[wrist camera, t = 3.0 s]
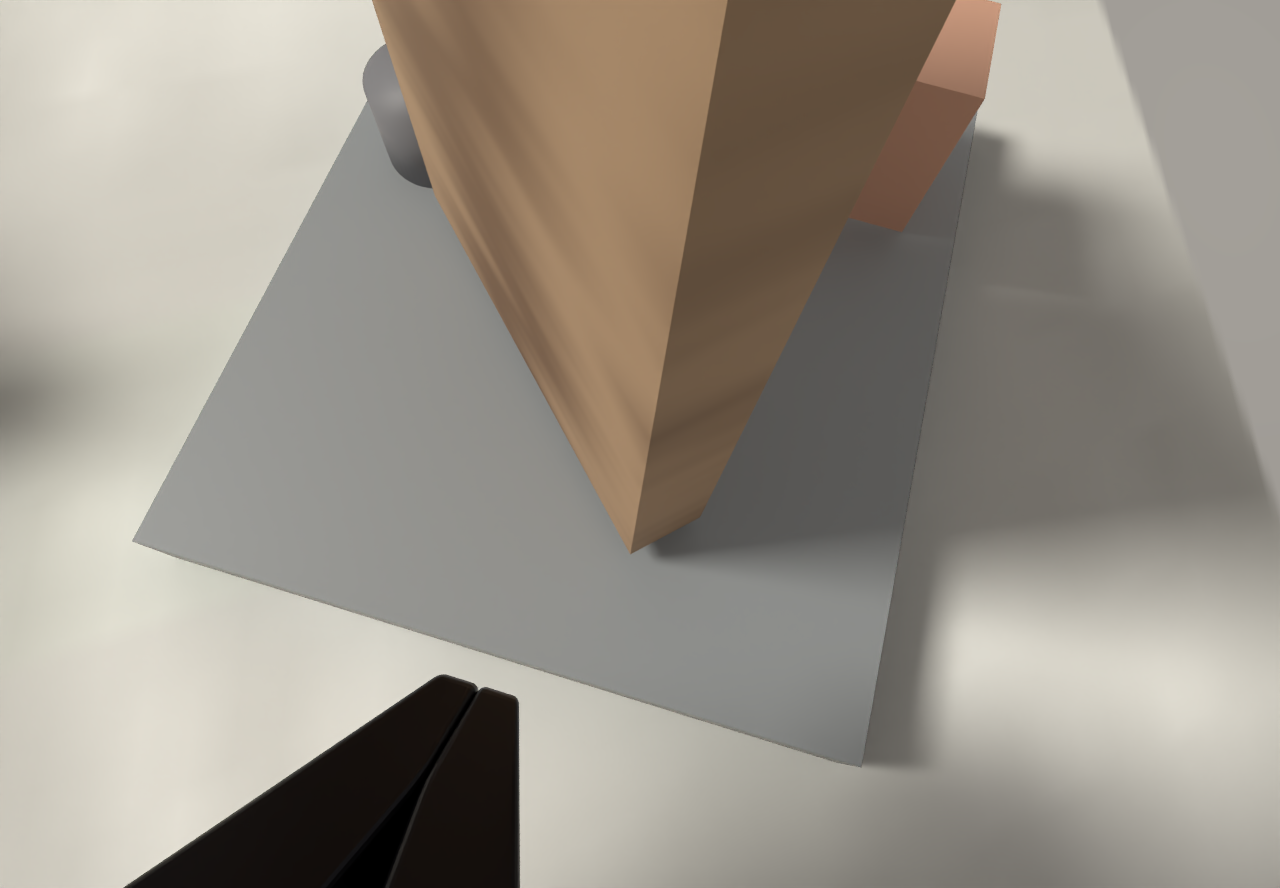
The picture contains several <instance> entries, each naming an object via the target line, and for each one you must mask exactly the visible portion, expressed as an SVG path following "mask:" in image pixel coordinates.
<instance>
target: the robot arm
mask: <svg viewBox="0 0 1280 888" xmlns="http://www.w3.org/2000/svg"><path fill="white" fill-rule="evenodd" d="M124 888H520V823H519V702H518V699H517V698H516V697H515V696H513V695H510V694H506V693H503V692H500V691H497V690H494V689H490V688H487V687H484V688H481V689H480V690H479V691H478V688H477V686H476V685H475V684H474V683H471V682H468V681H465V680H462V679H458V678H455V677H452V676H449V675H444V674H443V675H439V676H436V677H434V678H433V679H431V680H430V681H428V682H427V683H426V684H424V685H423V686H421V687H420V688H418V689H417V690H415V691H414V692H412V693H411V694H409V695H408V696H406V697H405V698H403V699H402V700H400V701H399V702H397V703H396V704H394V705H393V706H391V707H390V708H389V709H387V710H386V711H384V712H383V713H381V714H380V715H378V716H377V717H375V718H374V719H372V720H371V721H369V722H368V723H366V724H365V725H363V726H362V727H360V728H359V729H357V730H356V731H355V732H353V733H352V734H350V735H349V736H347V737H346V738H344V739H343V740H341V741H340V742H338V743H337V744H335V745H334V746H332V747H331V748H329V749H328V750H326V751H325V752H323V753H322V754H320V755H319V756H318V757H316V758H315V759H313V760H312V761H310V762H309V763H307V764H306V765H304V766H303V767H301V768H300V769H298V770H297V771H295V772H294V773H292V774H291V775H289V776H288V777H286V778H285V779H283V780H282V781H281V782H279V783H278V784H276V785H275V786H273V787H272V788H270V789H269V790H267V791H266V792H264V793H263V794H261V795H260V796H258V797H257V798H255V799H254V800H252V801H251V802H249V803H248V804H246V805H245V806H244V807H242V808H241V809H239V810H238V811H236V812H235V813H233V814H232V815H230V816H229V817H227V818H226V819H224V820H223V821H221V822H220V823H218V824H217V825H215V826H214V827H212V828H211V829H209V830H208V831H207V832H205V833H204V834H202V835H201V836H199V837H198V838H196V839H195V840H193V841H192V842H190V843H189V844H187V845H186V846H184V847H183V848H181V849H180V850H178V851H177V852H175V853H174V854H173V855H171V856H170V857H168V858H167V859H165V860H164V861H162V862H161V863H159V864H158V865H156V866H155V867H153V868H152V869H150V870H149V871H147V872H146V873H144V874H143V875H141V876H140V877H138V878H137V879H136V880H134V881H133V882H131V883H130V884H128V885H127V886H125V887H124Z"/></svg>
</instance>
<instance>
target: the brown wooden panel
mask: <svg viewBox="0 0 1280 888" xmlns="http://www.w3.org/2000/svg"><path fill="white" fill-rule="evenodd" d="M372 1H373V5H374V8H375V11H376V14H377V17H378V20H379V23H380V26H381V29H382V33H383V36H384V39H385V42H386V45H387V48H388V51H389V54H390V57H391V61H392V64H393V67H394V70H395V73H396V76H397V79H398V82H399V86H400V89H401V92H402V95H403V98H404V101H405V104H406V107H407V110H408V114H409V117H410V120H411V123H412V126H413V129H414V132H415V135H416V138H417V142H418V145H419V148H420V151H421V154H422V157H423V160H424V163H425V166H426V170H427V173H428V176H429V179H430V182H431V185H432V188H433V191H434V194H435V197H436V199H437V200H438V202H439V204H440V206H441V208H442V210H443V212H444V213H445V215H446V217H447V219H448V221H449V223H450V224H451V226H452V228H453V230H454V232H455V234H456V235H457V237H458V239H459V241H460V243H461V245H462V246H463V248H464V250H465V252H466V254H467V256H468V257H469V259H470V261H471V263H472V265H473V267H474V268H475V270H476V272H477V274H478V276H479V278H480V279H481V281H482V283H483V285H484V287H485V289H486V290H487V292H488V294H489V296H490V298H491V300H492V302H493V303H494V305H495V307H496V309H497V311H498V313H499V314H500V316H501V318H502V320H503V322H504V324H505V325H506V327H507V329H508V331H509V333H510V335H511V336H512V338H513V340H514V342H515V344H516V346H517V347H518V349H519V351H520V353H521V355H522V357H523V358H524V360H525V362H526V364H527V366H528V368H529V369H530V371H531V373H532V375H533V377H534V379H535V380H536V382H537V384H538V386H539V388H540V390H541V392H542V393H543V395H544V397H545V399H546V401H547V403H548V404H549V406H550V408H551V410H552V412H553V414H554V415H555V417H556V419H557V421H558V423H559V425H560V426H561V428H562V430H563V432H564V434H565V436H566V437H567V439H568V441H569V443H570V445H571V447H572V448H573V450H574V452H575V454H576V456H577V458H578V459H579V461H580V463H581V465H582V467H583V469H584V470H585V472H586V474H587V476H588V478H589V480H590V481H591V483H592V485H593V487H594V489H595V491H596V493H597V494H598V496H599V498H600V500H601V502H602V504H603V505H604V507H605V509H606V511H607V513H608V515H609V516H610V518H611V520H612V522H613V524H614V526H615V527H616V529H617V531H618V533H619V535H620V537H621V538H622V540H623V542H624V544H625V546H626V548H627V549H628V551H629V553H630V554H632V553H634V552H636V551H638V550H640V549H641V548H643V547H645V546H647V545H649V544H651V543H653V542H655V541H656V540H658V539H660V538H662V537H664V536H666V535H668V534H670V533H672V532H673V531H675V530H677V529H679V528H681V527H683V526H685V525H687V524H688V523H690V522H692V521H694V520H696V519H698V518H700V516H701V514H702V512H703V510H704V508H705V506H706V504H707V502H708V500H709V498H710V496H711V494H712V492H713V490H714V488H715V486H716V484H717V482H718V480H719V478H720V476H721V474H722V472H723V470H724V468H725V466H726V464H727V462H728V460H729V458H730V456H731V454H732V452H733V450H734V448H735V446H736V444H737V442H738V440H739V438H740V436H741V434H742V432H743V430H744V428H745V426H746V423H747V421H748V419H749V417H750V415H751V413H752V411H753V409H754V407H755V405H756V403H757V401H758V399H759V397H760V395H761V393H762V391H763V389H764V387H765V385H766V383H767V381H768V379H769V377H770V375H771V373H772V371H773V369H774V367H775V365H776V363H777V361H778V359H779V357H780V355H781V353H782V351H783V349H784V347H785V345H786V343H787V341H788V339H789V337H790V335H791V333H792V331H793V329H794V327H795V325H796V323H797V321H798V318H799V316H800V314H801V312H802V310H803V308H804V306H805V304H806V302H807V300H808V298H809V296H810V294H811V292H812V290H813V288H814V286H815V284H816V282H817V280H818V278H819V276H820V274H821V272H822V270H823V268H824V266H825V264H826V262H827V260H828V258H829V256H830V254H831V252H832V250H833V248H834V246H835V244H836V242H837V240H838V238H839V236H840V234H841V232H842V230H843V228H844V226H845V224H846V222H847V220H848V218H849V215H850V213H851V211H852V209H853V207H854V205H855V203H856V201H857V199H858V197H859V195H860V193H861V191H862V189H863V187H864V185H865V183H866V181H867V179H868V177H869V175H870V173H871V171H872V169H873V167H874V165H875V163H876V161H877V159H878V157H879V155H880V153H881V151H882V149H883V147H884V145H885V143H886V141H887V139H888V137H889V135H890V133H891V131H892V129H893V127H894V125H895V123H896V121H897V119H898V117H899V115H900V113H901V110H902V108H903V106H904V104H905V102H906V100H907V98H908V96H909V94H910V92H911V90H912V88H913V86H914V84H915V82H916V80H917V78H918V76H919V74H920V72H921V70H922V68H923V66H924V64H925V62H926V60H927V58H928V56H929V54H930V52H931V50H932V48H933V46H934V44H935V42H936V40H937V38H938V36H939V34H940V32H941V30H942V28H943V26H944V24H945V22H946V20H947V18H948V16H949V14H950V12H951V10H952V8H953V5H954V3H955V1H956V0H372Z"/></svg>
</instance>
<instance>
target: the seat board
mask: <svg viewBox="0 0 1280 888" xmlns="http://www.w3.org/2000/svg"><path fill="white" fill-rule="evenodd" d="M1000 8H1001V4H1000V3H996V2H992V1H988V0H956V1H955V3H954V5H953V8H952V10H951V12H950V14H949V16H948V18H947V20H946V22H945V24H944V26H943V28H942V30H941V32H940V34H939V36H938V38H937V40H936V42H935V44H934V46H933V48H932V50H931V52H930V54H929V56H928V58H927V60H926V62H925V64H924V66H923V68H922V70H921V72H920V74H919V76H918V78H917V80H916V82H915V84H914V86H913V88H912V90H911V92H910V94H909V96H908V98H907V100H906V102H905V104H904V106H903V108H902V110H901V113H900V115H899V117H898V119H897V121H896V123H895V125H894V127H893V129H892V131H891V133H890V135H889V137H888V139H887V141H886V143H885V145H884V147H883V149H882V151H881V153H880V155H879V157H878V159H877V161H876V163H875V165H874V167H873V169H872V171H871V173H870V175H869V177H868V179H867V181H866V183H865V185H864V187H863V189H862V191H861V193H860V195H859V197H858V199H857V201H856V203H855V205H854V207H853V209H852V211H851V213H850V215H849V218H848V220H847V222H846V224H845V226H844V228H843V230H842V232H841V234H840V236H839V238H838V240H837V242H836V244H835V246H834V248H833V250H832V252H831V254H830V256H829V258H828V260H827V262H826V264H825V266H824V268H823V270H822V272H821V274H820V276H819V278H818V280H817V282H816V284H815V286H814V288H813V290H812V292H811V294H810V296H809V298H808V300H807V302H806V304H805V306H804V308H803V310H802V312H801V314H800V316H799V318H798V321H797V323H796V325H795V327H794V329H793V331H792V333H791V335H790V337H789V339H788V341H787V343H786V345H785V347H784V349H783V351H782V353H781V355H780V357H779V359H778V361H777V363H776V365H775V367H774V369H773V371H772V373H771V375H770V377H769V379H768V381H767V383H766V385H765V387H764V389H763V391H762V393H761V395H760V397H759V399H758V401H757V403H756V405H755V407H754V409H753V411H752V413H751V415H750V417H749V419H748V421H747V423H746V426H745V428H744V430H743V432H742V434H741V436H740V438H739V440H738V442H737V444H736V446H735V448H734V450H733V452H732V454H731V456H730V458H729V460H728V462H727V464H726V466H725V468H724V470H723V472H722V474H721V476H720V478H719V480H718V482H717V484H716V486H715V488H714V490H713V492H712V494H711V496H710V498H709V500H708V502H707V504H706V506H705V508H704V510H703V512H702V514H701V516H700V518H698V519H696V520H694V521H692V522H690V523H688V524H687V525H685V526H683V527H681V528H679V529H677V530H675V531H673V532H672V533H670V534H668V535H666V536H664V537H662V538H660V539H658V540H656V541H655V542H653V543H651V544H649V545H647V546H645V547H643V548H641V549H640V550H638V551H636V552H634V553H632V554H630V553H629V551H628V549H627V548H626V546H625V544H624V542H623V540H622V538H621V537H620V535H619V533H618V531H617V529H616V527H615V526H614V524H613V522H612V520H611V518H610V516H609V515H608V513H607V511H606V509H605V507H604V505H603V504H602V502H601V500H600V498H599V496H598V494H597V493H596V491H595V489H594V487H593V485H592V483H591V481H590V480H589V478H588V476H587V474H586V472H585V470H584V469H583V467H582V465H581V463H580V461H579V459H578V458H577V456H576V454H575V452H574V450H573V448H572V447H571V445H570V443H569V441H568V439H567V437H566V436H565V434H564V432H563V430H562V428H561V426H560V425H559V423H558V421H557V419H556V417H555V415H554V414H553V412H552V410H551V408H550V406H549V404H548V403H547V401H546V399H545V397H544V395H543V393H542V392H541V390H540V388H539V386H538V384H537V382H536V380H535V379H534V377H533V375H532V373H531V371H530V369H529V368H528V366H527V364H526V362H525V360H524V358H523V357H522V355H521V353H520V351H519V349H518V347H517V346H516V344H515V342H514V340H513V338H512V336H511V335H510V333H509V331H508V329H507V327H506V325H505V324H504V322H503V320H502V318H501V316H500V314H499V313H498V311H497V309H496V307H495V305H494V303H493V302H492V300H491V298H490V296H489V294H488V292H487V290H486V289H485V287H484V285H483V283H482V281H481V279H480V278H479V276H478V274H477V272H476V270H475V268H474V267H473V265H472V263H471V261H470V259H469V257H468V256H467V254H466V252H465V250H464V248H463V246H462V245H461V243H460V241H459V239H458V237H457V235H456V234H455V232H454V230H453V228H452V226H451V224H450V223H449V221H448V219H447V217H446V215H445V213H444V212H443V210H442V208H441V206H440V204H439V202H438V200H437V199H436V197H435V194H434V191H433V188H432V185H431V182H430V179H429V176H428V173H427V170H426V166H425V163H424V160H423V157H422V154H421V151H420V148H419V145H418V142H417V138H416V135H415V132H414V129H413V126H412V123H411V120H410V117H409V114H408V110H407V107H406V104H405V101H404V98H403V95H402V92H401V89H400V86H399V82H398V79H397V76H396V73H395V70H394V67H393V64H392V61H391V57H390V54H389V51H388V48H387V45H386V44H385V45H383V46H382V47H381V48H379V49H378V50H377V51H376V52H375V53H374V54H373V55H372V57H371V58H370V59H369V61H368V63H367V65H366V67H365V70H364V73H363V88H364V92H365V95H366V97H367V102H366V104H365V106H364V108H363V110H362V112H361V114H360V115H359V117H358V119H357V121H356V123H355V125H354V127H353V129H352V130H351V132H350V134H349V136H348V138H347V140H346V142H345V144H344V145H343V147H342V149H341V151H340V153H339V155H338V157H337V158H336V160H335V162H334V164H333V166H332V168H331V170H330V172H329V173H328V175H327V177H326V179H325V181H324V183H323V185H322V187H321V188H320V190H319V192H318V194H317V196H316V198H315V200H314V202H313V203H312V205H311V207H310V209H309V211H308V213H307V215H306V217H305V218H304V220H303V222H302V224H301V226H300V228H299V230H298V231H297V233H296V235H295V237H294V239H293V241H292V243H291V245H290V246H289V248H288V250H287V252H286V254H285V256H284V258H283V260H282V261H281V263H280V265H279V267H278V269H277V271H276V273H275V275H274V276H273V278H272V280H271V282H270V284H269V286H268V288H267V290H266V291H265V293H264V295H263V297H262V299H261V301H260V303H259V304H258V306H257V308H256V310H255V312H254V314H253V316H252V318H251V319H250V321H249V323H248V325H247V327H246V329H245V331H244V333H243V334H242V336H241V338H240V340H239V342H238V344H237V346H236V348H235V349H234V351H233V353H232V355H231V357H230V359H229V361H228V363H227V364H226V366H225V368H224V370H223V372H222V374H221V376H220V377H219V379H218V381H217V383H216V385H215V387H214V389H213V391H212V392H211V394H210V396H209V398H208V400H207V402H206V404H205V406H204V407H203V409H202V411H201V413H200V415H199V417H198V419H197V421H196V422H195V424H194V426H193V428H192V430H191V432H190V434H189V436H188V437H187V439H186V441H185V443H184V445H183V447H182V449H181V451H180V452H179V454H178V456H177V458H176V460H175V462H174V464H173V465H172V467H171V469H170V471H169V473H168V475H167V477H166V479H165V480H164V482H163V484H162V486H161V488H160V490H159V492H158V494H157V495H156V497H155V499H154V501H153V503H152V505H151V507H150V509H149V510H148V512H147V514H146V516H145V518H144V520H143V522H142V524H141V525H140V527H139V529H138V531H137V533H136V535H135V537H134V538H133V540H132V541H133V542H136V543H138V544H141V545H144V546H146V547H149V548H152V549H155V550H157V551H160V552H163V553H165V554H168V555H171V556H173V557H176V558H180V559H183V560H186V561H189V562H193V563H196V564H199V565H202V566H205V567H209V568H212V569H215V570H218V571H222V572H225V573H228V574H231V575H234V576H238V577H241V578H244V579H247V580H251V581H254V582H257V583H260V584H263V585H267V586H270V587H273V588H276V589H280V590H283V591H286V592H289V593H292V594H296V595H299V596H302V597H305V598H309V599H312V600H315V601H318V602H321V603H325V604H328V605H331V606H334V607H338V608H341V609H344V610H347V611H350V612H354V613H357V614H360V615H363V616H367V617H370V618H373V619H376V620H379V621H383V622H386V623H389V624H392V625H396V626H399V627H402V628H405V629H408V630H412V631H415V632H418V633H421V634H425V635H428V636H431V637H434V638H437V639H441V640H444V641H447V642H450V643H454V644H457V645H460V646H463V647H466V648H470V649H473V650H476V651H479V652H483V653H486V654H489V655H492V656H495V657H499V658H502V659H505V660H508V661H512V662H515V663H518V664H521V665H524V666H528V667H531V668H534V669H537V670H541V671H544V672H547V673H550V674H553V675H557V676H560V677H563V678H566V679H570V680H573V681H576V682H579V683H582V684H586V685H589V686H592V687H595V688H599V689H602V690H605V691H608V692H611V693H615V694H618V695H621V696H624V697H628V698H631V699H634V700H637V701H640V702H644V703H647V704H650V705H653V706H657V707H660V708H663V709H666V710H669V711H673V712H676V713H679V714H682V715H686V716H689V717H692V718H695V719H698V720H702V721H705V722H708V723H711V724H715V725H718V726H721V727H724V728H727V729H731V730H734V731H737V732H740V733H744V734H747V735H750V736H753V737H756V738H760V739H763V740H766V741H769V742H773V743H776V744H779V745H782V746H785V747H789V748H792V749H795V750H798V751H802V752H805V753H808V754H811V755H814V756H818V757H821V758H824V759H827V760H830V761H834V762H837V763H842V764H847V765H852V766H857V767H862V761H863V755H864V750H865V744H866V738H867V733H868V727H869V721H870V716H871V710H872V704H873V699H874V693H875V687H876V682H877V676H878V670H879V665H880V659H881V653H882V648H883V642H884V636H885V631H886V625H887V619H888V614H889V608H890V602H891V597H892V591H893V585H894V580H895V574H896V568H897V563H898V557H899V551H900V546H901V540H902V534H903V529H904V523H905V517H906V512H907V506H908V500H909V495H910V489H911V483H912V478H913V472H914V466H915V461H916V455H917V450H918V444H919V438H920V433H921V427H922V421H923V416H924V410H925V404H926V399H927V393H928V387H929V382H930V376H931V370H932V365H933V359H934V353H935V348H936V342H937V336H938V331H939V325H940V319H941V314H942V308H943V302H944V297H945V291H946V285H947V280H948V274H949V268H950V263H951V257H952V251H953V246H954V240H955V234H956V229H957V223H958V217H959V212H960V206H961V200H962V195H963V189H964V183H965V178H966V172H967V166H968V161H969V155H970V149H971V144H972V138H973V132H974V127H975V121H976V116H977V110H978V109H979V107H980V105H981V104H982V102H983V101H984V99H985V94H986V88H987V82H988V77H989V71H990V65H991V59H992V54H993V48H994V42H995V36H996V31H997V25H998V19H999V13H1000Z"/></svg>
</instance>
